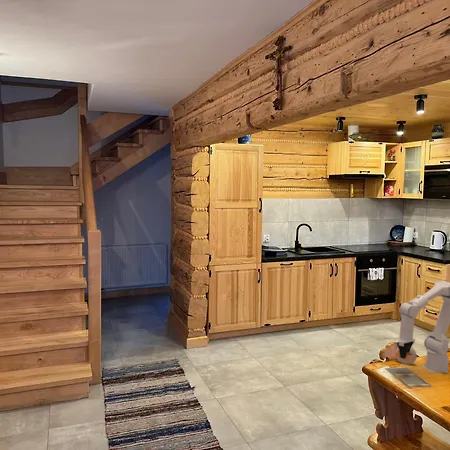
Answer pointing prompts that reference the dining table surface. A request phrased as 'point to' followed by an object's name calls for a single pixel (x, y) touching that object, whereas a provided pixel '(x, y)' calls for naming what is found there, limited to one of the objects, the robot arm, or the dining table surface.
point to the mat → (408, 379)
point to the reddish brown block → (408, 357)
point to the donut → (409, 352)
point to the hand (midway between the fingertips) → (404, 356)
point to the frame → (414, 384)
